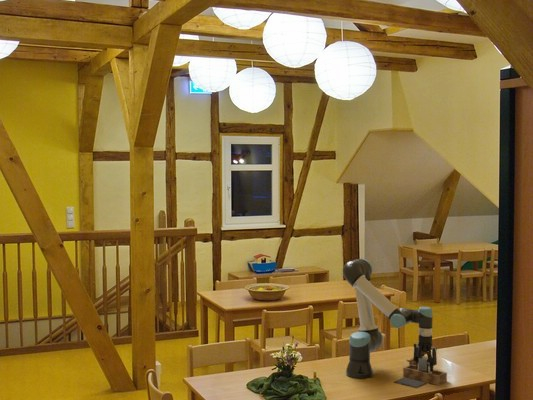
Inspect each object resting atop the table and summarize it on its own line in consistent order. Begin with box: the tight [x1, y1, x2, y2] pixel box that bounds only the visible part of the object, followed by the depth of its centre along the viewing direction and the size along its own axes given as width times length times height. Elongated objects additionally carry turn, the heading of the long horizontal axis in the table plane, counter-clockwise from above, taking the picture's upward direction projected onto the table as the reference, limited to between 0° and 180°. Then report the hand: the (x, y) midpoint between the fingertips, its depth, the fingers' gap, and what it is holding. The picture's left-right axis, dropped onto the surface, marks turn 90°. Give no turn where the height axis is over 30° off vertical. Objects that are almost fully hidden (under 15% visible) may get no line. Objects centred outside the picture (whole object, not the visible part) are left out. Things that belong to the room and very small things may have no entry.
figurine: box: [406, 347, 427, 366], centre depth 400 cm, size 7×22×15 cm, turn 137°
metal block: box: [419, 355, 430, 373], centre depth 384 cm, size 5×5×12 cm
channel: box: [402, 364, 448, 386], centre depth 384 cm, size 22×9×5 cm, turn 47°
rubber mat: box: [393, 376, 427, 389], centre depth 377 cm, size 14×10×1 cm
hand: (424, 375), depth 384 cm, fingers open, 6 cm apart
